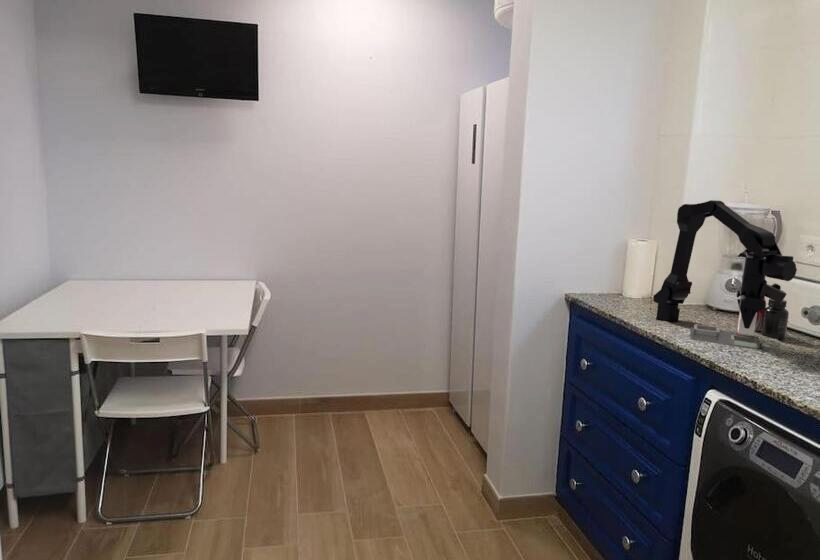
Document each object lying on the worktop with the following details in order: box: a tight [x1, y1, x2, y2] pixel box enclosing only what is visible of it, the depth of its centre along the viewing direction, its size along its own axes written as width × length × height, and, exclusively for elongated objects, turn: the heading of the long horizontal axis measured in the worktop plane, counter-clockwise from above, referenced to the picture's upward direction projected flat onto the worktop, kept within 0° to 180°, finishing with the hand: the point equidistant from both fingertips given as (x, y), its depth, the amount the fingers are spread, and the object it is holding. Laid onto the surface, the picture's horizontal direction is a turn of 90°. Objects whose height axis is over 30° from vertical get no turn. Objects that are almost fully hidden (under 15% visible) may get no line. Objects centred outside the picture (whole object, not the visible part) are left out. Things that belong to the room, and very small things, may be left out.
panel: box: [689, 323, 763, 351], centre depth 186 cm, size 19×16×2 cm
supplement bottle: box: [760, 298, 790, 341], centre depth 191 cm, size 7×7×12 cm
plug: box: [736, 310, 757, 336], centre depth 179 cm, size 4×4×7 cm
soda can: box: [737, 297, 767, 332], centre depth 198 cm, size 7×7×12 cm
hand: (746, 326), depth 180 cm, fingers closed on plug, 4 cm apart
